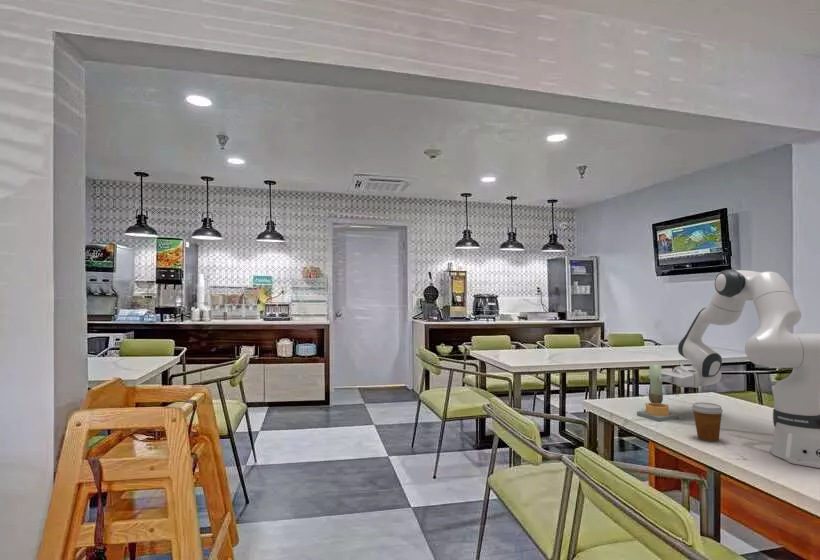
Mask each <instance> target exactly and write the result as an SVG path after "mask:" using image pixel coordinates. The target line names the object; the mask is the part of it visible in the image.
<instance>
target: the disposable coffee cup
mask: <svg viewBox="0 0 820 560" xmlns="http://www.w3.org/2000/svg"><path fill="white" fill-rule="evenodd" d="M691 409H692V412H693V417H694V424H695V428H696V432H697V438H698V439H699V440H702V441H706V442H719V440H720V433H721V432H720V431H721V421H722V414H723V411H724V409H723V408H722V405H720V404H717V403H711V402H693V403H692V406H691Z"/></svg>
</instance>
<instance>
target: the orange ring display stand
mask: <svg viewBox="0 0 820 560" xmlns="http://www.w3.org/2000/svg"><path fill="white" fill-rule="evenodd" d="M636 415H637V416H639V417H642V418H645V419H648V420H652V421H657V422H665V421H671V420H678V419H679V414H676V413H671V412H670V408H669V404H665V403H663V402H662V403H651V402H647V403H645V410H640V411H636Z"/></svg>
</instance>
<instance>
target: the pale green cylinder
mask: <svg viewBox="0 0 820 560" xmlns="http://www.w3.org/2000/svg"><path fill="white" fill-rule="evenodd" d="M649 370H650V379H649V381H650V386H649V387H650V388H651V393H652V394H663V382H660V381H658V377H662V371H661V370H662V365H661V364H655V363H654V364H653V363H651V364H649ZM650 388H649V389H650Z"/></svg>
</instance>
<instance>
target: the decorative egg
mask: <svg viewBox="0 0 820 560" xmlns="http://www.w3.org/2000/svg"><path fill="white" fill-rule="evenodd" d="M648 399H649V403H662V404H663V401H664V395H663V393H662V394H652V393H651V388H649V391H648Z"/></svg>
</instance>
